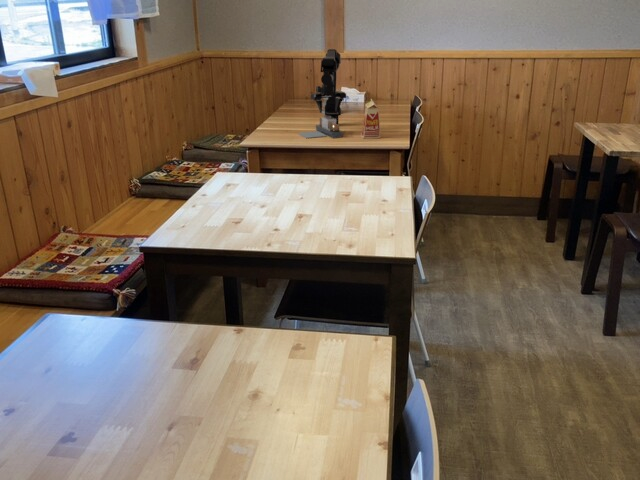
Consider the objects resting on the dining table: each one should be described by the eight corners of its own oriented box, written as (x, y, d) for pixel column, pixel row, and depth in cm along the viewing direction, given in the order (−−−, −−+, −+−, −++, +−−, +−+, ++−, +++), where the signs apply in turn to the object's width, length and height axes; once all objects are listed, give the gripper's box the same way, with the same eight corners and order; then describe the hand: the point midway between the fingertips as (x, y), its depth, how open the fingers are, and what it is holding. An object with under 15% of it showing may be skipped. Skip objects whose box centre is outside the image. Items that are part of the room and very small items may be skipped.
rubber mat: (318, 132, 322) (318, 131, 322) (326, 136, 312) (326, 135, 312) (298, 134, 318) (298, 133, 318) (306, 138, 308) (306, 137, 308)
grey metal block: (321, 126, 320) (321, 115, 318) (330, 125, 322) (330, 114, 319) (327, 128, 313) (327, 118, 311) (336, 128, 315) (336, 117, 313)
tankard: (341, 114, 370) (341, 90, 364) (321, 114, 370) (321, 90, 364) (340, 109, 388) (341, 86, 383) (322, 109, 389) (322, 86, 383)
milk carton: (361, 135, 315) (361, 98, 307) (377, 135, 315) (379, 97, 308) (363, 139, 306) (364, 100, 298) (380, 138, 307) (382, 100, 299)
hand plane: (316, 130, 327) (316, 117, 324) (325, 129, 329) (325, 117, 326) (332, 138, 308) (332, 125, 306) (342, 137, 311) (342, 124, 308)
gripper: (338, 79, 318) (337, 108, 324) (306, 81, 312) (307, 110, 318) (346, 82, 309) (346, 111, 315) (314, 84, 302) (315, 114, 308)
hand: (328, 111), depth 314 cm, fingers open, 9 cm apart
